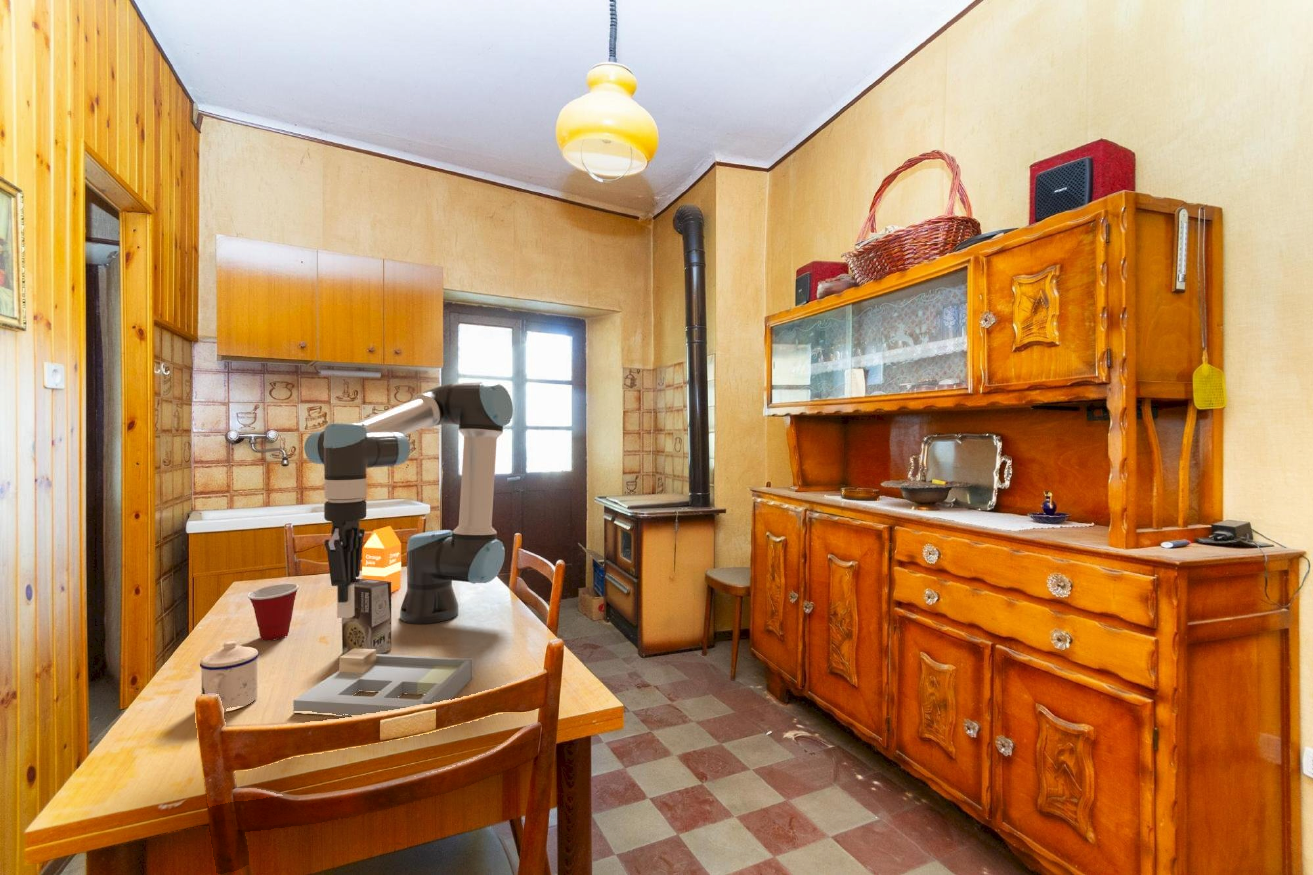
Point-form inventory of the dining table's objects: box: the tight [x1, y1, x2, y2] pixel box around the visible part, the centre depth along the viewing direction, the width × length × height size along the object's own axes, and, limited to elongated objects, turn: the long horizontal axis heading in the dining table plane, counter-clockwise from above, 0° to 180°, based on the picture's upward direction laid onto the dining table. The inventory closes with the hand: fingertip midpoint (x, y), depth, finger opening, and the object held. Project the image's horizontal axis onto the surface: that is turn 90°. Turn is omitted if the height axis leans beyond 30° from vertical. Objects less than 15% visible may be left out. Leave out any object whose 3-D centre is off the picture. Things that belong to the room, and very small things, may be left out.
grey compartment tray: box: [292, 653, 474, 718], centre depth 118 cm, size 20×26×4 cm
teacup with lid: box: [199, 640, 260, 714], centre depth 112 cm, size 12×9×12 cm
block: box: [338, 648, 376, 673], centre depth 125 cm, size 5×5×3 cm
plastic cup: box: [246, 582, 299, 641], centre depth 149 cm, size 11×11×12 cm
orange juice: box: [361, 525, 402, 593], centre depth 190 cm, size 8×9×20 cm
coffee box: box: [341, 578, 392, 655], centre depth 140 cm, size 9×6×16 cm
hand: (345, 616), depth 121 cm, fingers closed
